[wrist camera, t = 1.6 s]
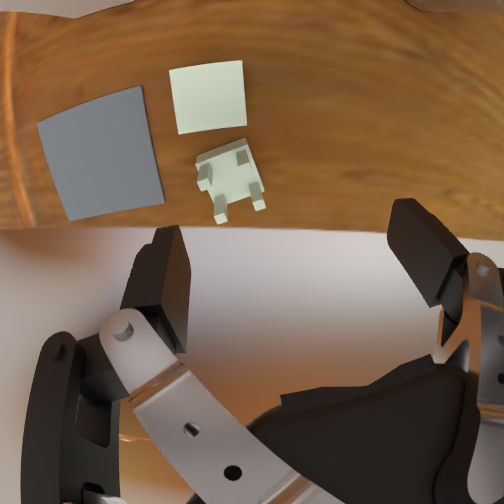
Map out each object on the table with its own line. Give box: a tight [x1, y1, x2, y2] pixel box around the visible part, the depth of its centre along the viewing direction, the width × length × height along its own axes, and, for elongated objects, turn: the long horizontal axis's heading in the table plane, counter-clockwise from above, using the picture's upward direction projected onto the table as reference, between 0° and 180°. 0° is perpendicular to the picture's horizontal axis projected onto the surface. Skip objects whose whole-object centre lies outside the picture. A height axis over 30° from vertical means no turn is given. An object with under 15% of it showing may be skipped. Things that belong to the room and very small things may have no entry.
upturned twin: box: [195, 138, 266, 225], centre depth 27 cm, size 6×6×7 cm
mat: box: [37, 85, 166, 221], centre depth 26 cm, size 14×14×1 cm
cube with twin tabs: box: [169, 60, 247, 134], centre depth 21 cm, size 6×6×7 cm
